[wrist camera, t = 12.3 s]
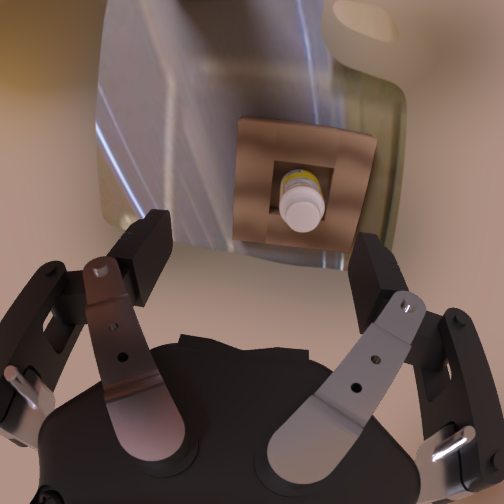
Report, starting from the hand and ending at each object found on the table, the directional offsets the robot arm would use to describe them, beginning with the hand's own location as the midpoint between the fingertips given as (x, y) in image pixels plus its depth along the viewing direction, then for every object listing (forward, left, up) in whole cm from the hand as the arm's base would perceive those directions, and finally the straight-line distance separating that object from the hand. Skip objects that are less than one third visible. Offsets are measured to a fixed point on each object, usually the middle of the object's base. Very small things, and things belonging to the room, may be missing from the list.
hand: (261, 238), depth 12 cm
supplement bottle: (+9, +4, -30) cm, 31 cm away
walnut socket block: (+9, +4, -30) cm, 31 cm away
